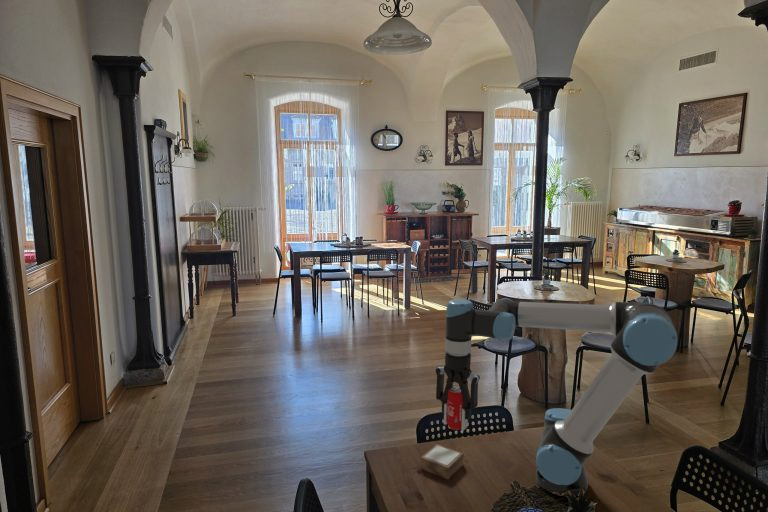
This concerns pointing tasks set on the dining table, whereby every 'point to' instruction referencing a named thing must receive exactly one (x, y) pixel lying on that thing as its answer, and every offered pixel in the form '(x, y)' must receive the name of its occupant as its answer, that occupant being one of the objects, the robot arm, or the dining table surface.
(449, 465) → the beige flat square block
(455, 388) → the beverage can
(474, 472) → the dining table surface
